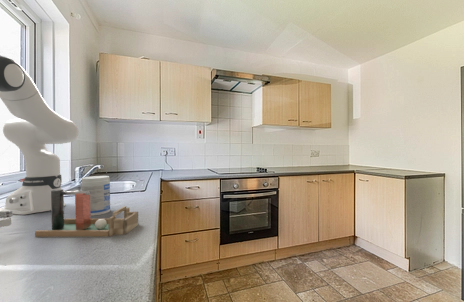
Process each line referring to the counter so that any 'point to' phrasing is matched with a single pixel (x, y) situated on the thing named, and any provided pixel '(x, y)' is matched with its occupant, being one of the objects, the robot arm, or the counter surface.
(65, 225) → the tray
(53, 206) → the pillars with crossbar
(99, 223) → the ball
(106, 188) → the supplement tub
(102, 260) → the counter surface
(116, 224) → the wooden frame
